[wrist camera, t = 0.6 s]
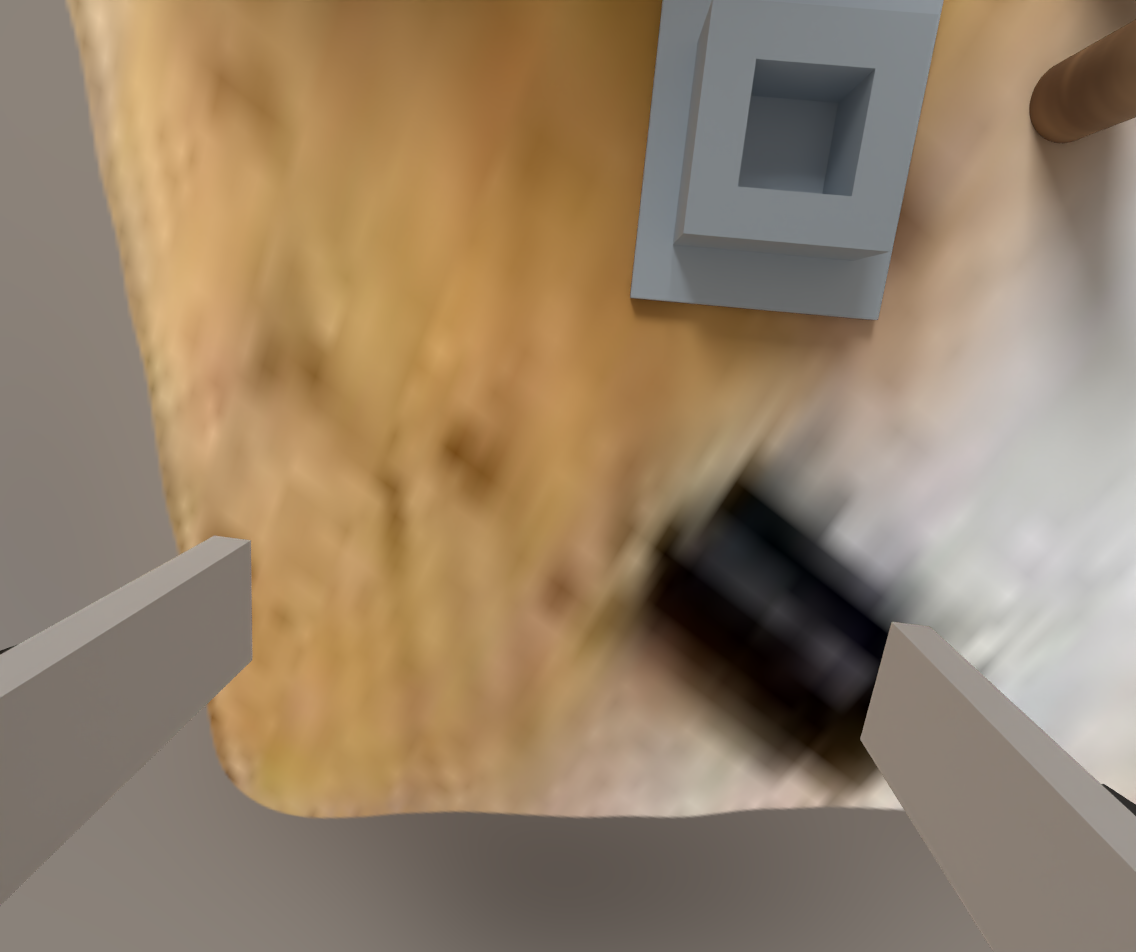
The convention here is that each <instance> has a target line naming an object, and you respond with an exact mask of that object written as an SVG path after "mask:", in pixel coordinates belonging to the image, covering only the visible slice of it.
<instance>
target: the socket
mask: <svg viewBox="0 0 1136 952" xmlns="http://www.w3.org/2000/svg"><path fill="white" fill-rule="evenodd" d="M942 5H943V0H662V10H661V19H660V28H659V37H658V46H657V55H656V64H655V73H654V83H653V92H652V101H651V110H650V119H649V128H648V137H647V146H646V156H645V165H644V174H643V183H642V192H641V201H640V210H639V219H638V228H637V238H636V247H635V256H634V265H633V274H632V283H631V292H630V298H635V299H646V300H657V301H668V302H679V303H690V304H701V305H712V306H723V307H734V308H745V309H756V310H767V311H778V312H789V313H799V314H810V315H821V316H832V317H843V318H854V319H865V320H878V317H879V312H880V307H881V303H882V298H883V293H884V288H885V283H886V278H887V273H888V268H889V263H890V259H891V254H892V249H893V244H894V239H895V234H896V229H897V224H898V220H899V215H900V210H901V205H902V200H903V195H904V190H905V185H906V181H907V176H908V171H909V166H910V161H911V156H912V151H913V146H914V142H915V137H916V132H917V127H918V122H919V117H920V112H921V107H922V103H923V98H924V93H925V88H926V83H927V78H928V73H929V68H930V64H931V59H932V54H933V49H934V44H935V39H936V34H937V29H938V24H939V20H940V15H941V10H942Z"/></svg>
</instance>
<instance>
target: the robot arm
mask: <svg viewBox="0 0 1136 952" xmlns="http://www.w3.org/2000/svg"><path fill="white" fill-rule="evenodd" d="M251 661H252V600H251V540H244V539H236V538H228V537H220V536H213V537H211V538H209V539H207V540H206V541H204V542H202V543H200V544H198V545H197V546H195V547H193V548H191V549H189V550H188V551H186V552H184V553H182V554H180V555H179V556H177V557H175V558H173V559H172V560H170V561H168V562H166V563H164V564H162V565H161V566H159V567H157V568H155V569H153V570H152V571H150V572H148V573H146V574H144V575H143V576H141V577H139V578H137V579H135V580H134V581H132V582H130V583H128V584H126V585H125V586H123V587H121V588H119V589H118V590H116V591H114V592H112V593H110V594H109V595H107V596H105V597H103V598H101V599H100V600H98V601H96V602H94V603H92V604H91V605H89V606H87V607H85V608H83V609H82V610H80V611H78V612H76V613H74V614H73V615H71V616H69V617H67V618H65V619H64V620H62V621H60V622H58V623H56V624H55V625H53V626H51V627H49V628H47V629H46V630H44V631H42V632H40V633H38V634H37V635H35V636H33V637H31V638H29V639H28V640H26V641H24V642H22V643H21V644H18V645H15V646H13V647H9V648H7V649H4V650H1V651H0V905H1V904H2V903H3V902H4V901H6V900H7V899H8V898H9V897H10V896H11V895H12V894H13V893H14V892H15V891H16V890H17V889H18V888H19V887H20V886H21V885H22V884H23V883H24V882H25V881H26V880H27V879H28V878H29V877H30V876H31V875H32V874H33V873H34V872H35V871H36V870H37V869H38V868H39V867H40V866H41V865H42V864H43V863H44V862H45V861H47V860H48V859H49V858H50V857H51V856H52V855H53V854H54V853H55V852H56V851H57V850H58V849H59V848H60V847H61V846H62V845H63V844H64V843H65V842H66V841H67V840H68V839H69V838H70V837H71V836H72V835H73V834H74V833H75V832H76V831H77V830H78V829H79V828H80V827H81V826H82V825H83V824H84V823H85V822H87V821H88V820H89V818H91V816H93V815H94V814H95V813H96V812H97V811H98V810H99V809H100V808H101V807H102V806H103V805H104V804H105V803H106V802H107V801H108V800H109V799H110V798H111V797H112V796H113V795H114V794H115V793H116V792H117V791H118V790H119V789H120V788H121V787H122V786H123V785H124V784H125V783H126V782H128V781H129V780H130V779H131V777H133V776H134V775H135V774H136V773H137V772H138V771H139V770H140V769H141V768H142V767H143V766H144V765H145V764H146V763H147V762H148V761H149V760H150V759H151V758H152V757H153V756H154V755H155V754H156V753H157V752H158V751H159V750H160V749H161V748H162V747H163V746H164V745H166V744H167V743H168V741H170V740H171V739H172V738H173V737H174V736H175V735H176V734H177V733H178V732H179V731H180V730H181V729H182V728H183V727H184V726H185V725H186V724H187V723H188V722H189V721H190V720H191V719H192V718H193V717H194V716H195V715H196V714H197V713H198V712H199V711H200V710H201V709H202V708H203V707H204V706H206V705H207V704H208V703H209V702H210V701H211V700H212V699H213V698H214V697H215V696H216V695H217V694H218V693H219V692H220V691H221V690H222V689H223V688H224V687H225V686H226V685H227V684H228V683H229V682H230V681H231V680H232V679H233V678H234V677H235V676H236V675H237V674H238V673H239V672H240V671H241V670H242V669H243V668H244V667H246V666H247V665H248V664H249V663H250V662H251ZM860 740H861V741H862V743H863V745H864V746H865V748H866V749H867V751H868V753H869V754H870V756H871V757H872V759H873V761H874V762H875V764H876V765H877V767H878V769H879V770H880V772H881V773H882V775H883V777H884V778H885V780H886V781H887V783H888V785H889V786H890V788H891V789H892V791H893V793H894V794H895V796H896V797H897V799H898V801H899V802H900V804H901V805H902V807H903V809H904V810H905V812H906V813H907V815H908V817H909V818H910V820H911V821H912V823H913V824H914V826H915V828H916V829H917V831H918V833H919V834H920V836H921V837H922V839H923V840H924V842H925V844H926V845H927V847H928V849H929V850H930V852H931V853H932V855H933V857H934V858H935V860H936V861H937V863H938V865H939V866H940V868H941V869H942V871H943V873H944V874H945V876H946V877H947V879H948V881H949V882H950V884H951V885H952V887H953V889H954V890H955V892H956V893H957V895H958V897H959V898H960V900H961V901H962V903H963V904H964V906H965V908H966V909H967V911H968V913H969V914H970V916H971V917H972V919H973V921H974V922H975V923H976V925H977V927H978V928H979V930H980V932H981V933H982V935H983V936H984V938H985V940H986V941H987V942H988V944H989V946H990V948H991V949H992V951H993V952H1136V805H1135V804H1134V803H1132V802H1131V801H1129V800H1128V799H1126V798H1125V797H1123V796H1122V795H1120V794H1119V793H1117V792H1115V791H1114V790H1112V789H1111V788H1109V787H1108V786H1106V785H1105V784H1100V783H1099V782H1098V781H1097V780H1096V779H1095V778H1094V777H1093V776H1092V775H1091V774H1089V773H1088V772H1087V771H1086V770H1085V769H1084V768H1083V767H1082V766H1081V765H1080V764H1079V763H1078V762H1076V761H1075V760H1074V759H1073V758H1072V757H1071V756H1070V755H1069V754H1068V753H1067V752H1066V751H1064V750H1063V749H1062V748H1061V747H1060V746H1059V745H1058V744H1057V743H1056V742H1055V741H1054V740H1053V739H1051V738H1050V737H1049V736H1048V735H1047V734H1046V733H1045V732H1044V731H1043V730H1042V729H1041V728H1040V727H1038V726H1037V725H1036V724H1035V723H1034V722H1033V721H1032V720H1031V719H1030V718H1029V717H1028V716H1026V715H1025V714H1024V713H1023V712H1022V711H1021V710H1020V709H1019V708H1018V707H1017V706H1016V705H1015V704H1013V703H1012V702H1011V701H1010V700H1009V699H1008V698H1007V697H1006V696H1005V695H1004V694H1003V693H1002V692H1000V691H999V690H998V689H997V688H996V687H995V686H994V685H993V684H992V683H991V682H990V681H989V680H987V679H986V678H985V677H984V676H983V675H982V674H981V673H980V672H979V671H978V670H977V669H975V668H974V667H973V666H972V665H971V664H970V663H969V662H968V661H967V660H966V659H965V658H964V657H962V656H961V655H960V654H959V653H958V652H957V651H956V650H955V649H954V648H953V647H952V646H951V645H949V644H948V643H947V642H946V641H945V640H944V639H943V638H942V637H941V636H940V635H939V634H937V633H936V632H935V631H934V630H933V629H932V628H931V627H929V626H921V625H913V624H905V623H897V622H892V623H891V627H890V631H889V634H888V638H887V642H886V645H885V649H884V653H883V657H882V660H881V664H880V668H879V672H878V675H877V679H876V683H875V686H874V690H873V694H872V698H871V701H870V705H869V709H868V712H867V716H866V720H865V724H864V727H863V731H862V735H861V738H860Z"/></svg>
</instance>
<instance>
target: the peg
mask: <svg viewBox="0 0 1136 952" xmlns="http://www.w3.org/2000/svg"><path fill="white" fill-rule="evenodd" d="M1030 117H1031V121H1032V124H1033V126H1034V128H1035V129H1036V131H1037V132H1038V133H1039V134H1040V135H1041V136H1042V137H1044V138H1045V139H1047V140H1049V141H1052V142H1056V143H1067V142H1072V141H1075V140H1078V139H1080V138H1083V137H1085V136H1088V135H1091V134H1093V133H1096V132H1098V131H1101V130H1103V129H1106V128H1109V127H1111V126H1114V125H1116V124H1119V123H1122V122H1124V121H1127V120H1129V119H1132V118H1135V117H1136V20H1134V21H1133V22H1131V23H1129V24H1127V25H1126V26H1124V27H1122V28H1120V29H1119V30H1117V31H1115V32H1113V33H1111V34H1110V35H1108V36H1106V37H1104V38H1103V39H1101V40H1099V41H1097V42H1096V43H1094V44H1092V45H1090V46H1089V47H1087V48H1085V49H1083V50H1081V51H1080V52H1078V53H1076V54H1074V55H1073V56H1071V57H1069V58H1067V59H1066V60H1064V61H1062V62H1060V63H1059V64H1057V65H1055V66H1053V67H1052V68H1051V69H1049V70H1048V71H1047V72H1046V73H1045V74H1044V75H1043V76H1042V77H1041V79H1040V80H1039V81H1038V83H1037V85H1036V87H1035V89H1034V91H1033V93H1032V97H1031V101H1030Z"/></svg>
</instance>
